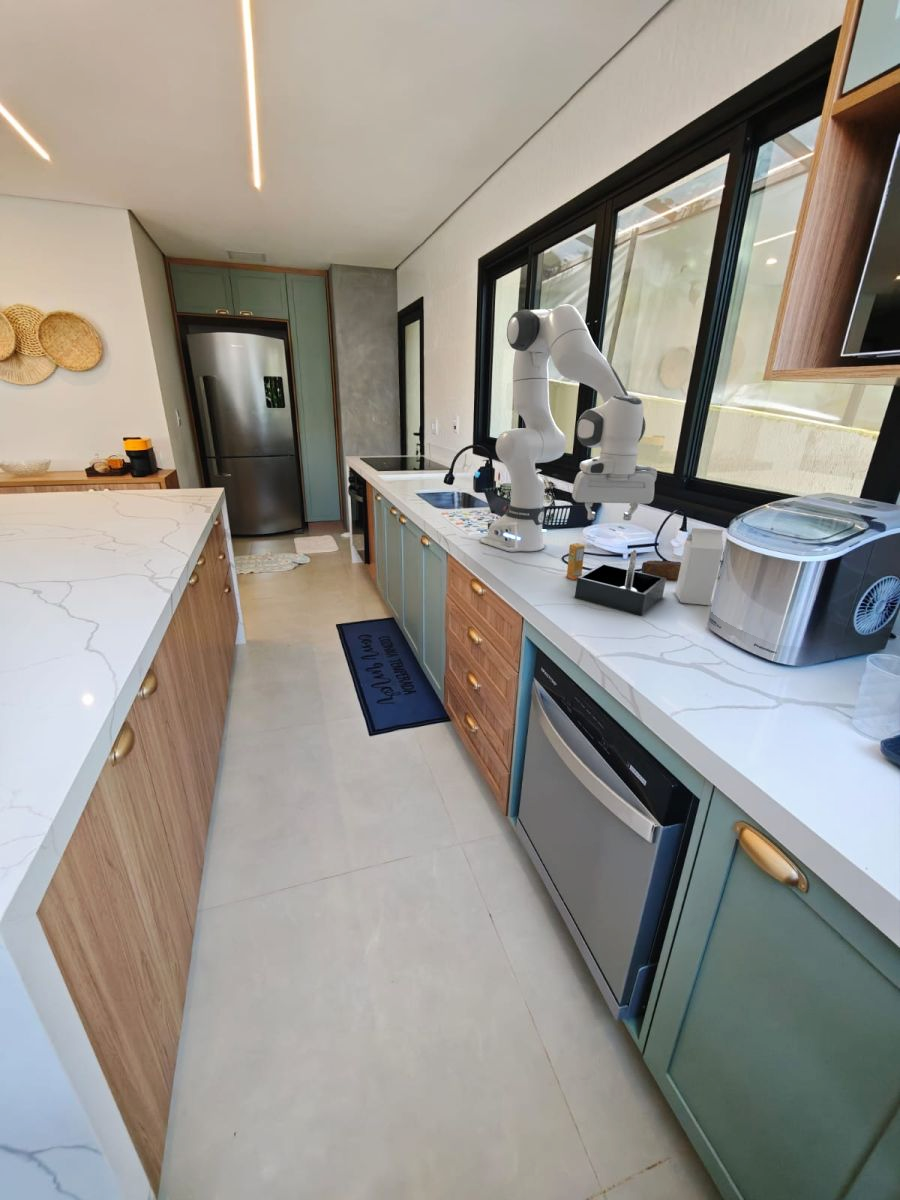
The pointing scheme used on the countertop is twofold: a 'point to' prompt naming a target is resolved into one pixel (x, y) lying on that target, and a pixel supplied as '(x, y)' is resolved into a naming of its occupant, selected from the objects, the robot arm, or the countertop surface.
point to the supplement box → (575, 561)
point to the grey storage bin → (620, 589)
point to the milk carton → (699, 566)
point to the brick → (662, 569)
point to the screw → (630, 572)
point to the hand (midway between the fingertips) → (608, 519)
